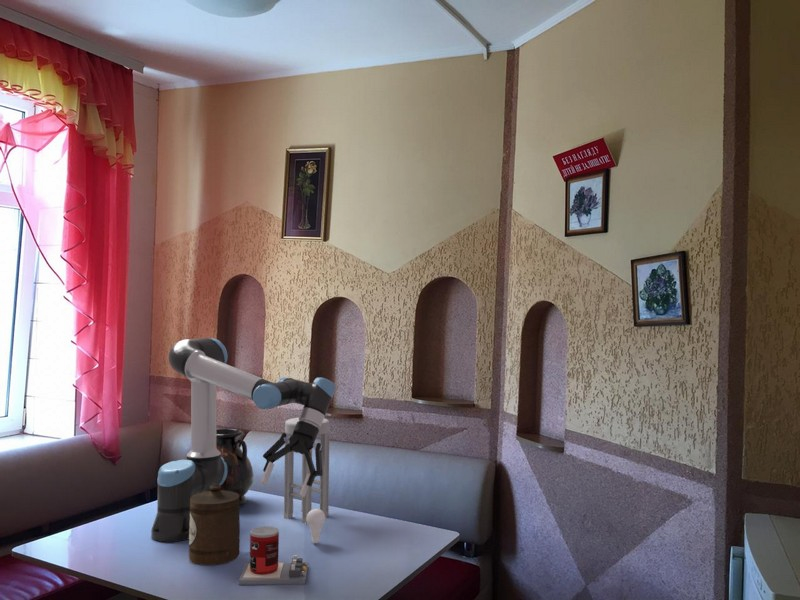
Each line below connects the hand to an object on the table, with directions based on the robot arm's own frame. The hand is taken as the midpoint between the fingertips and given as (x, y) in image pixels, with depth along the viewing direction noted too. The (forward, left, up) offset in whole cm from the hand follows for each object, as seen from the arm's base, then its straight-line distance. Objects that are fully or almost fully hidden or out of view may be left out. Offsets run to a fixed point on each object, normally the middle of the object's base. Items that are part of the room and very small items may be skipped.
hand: (282, 489), depth 200 cm
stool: (+5, +38, -21) cm, 44 cm away
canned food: (-3, -13, -19) cm, 24 cm away
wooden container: (-20, +1, -21) cm, 29 cm away
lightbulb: (+10, +11, -21) cm, 26 cm away
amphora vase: (-28, +54, -21) cm, 65 cm away
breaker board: (0, -14, -20) cm, 25 cm away
